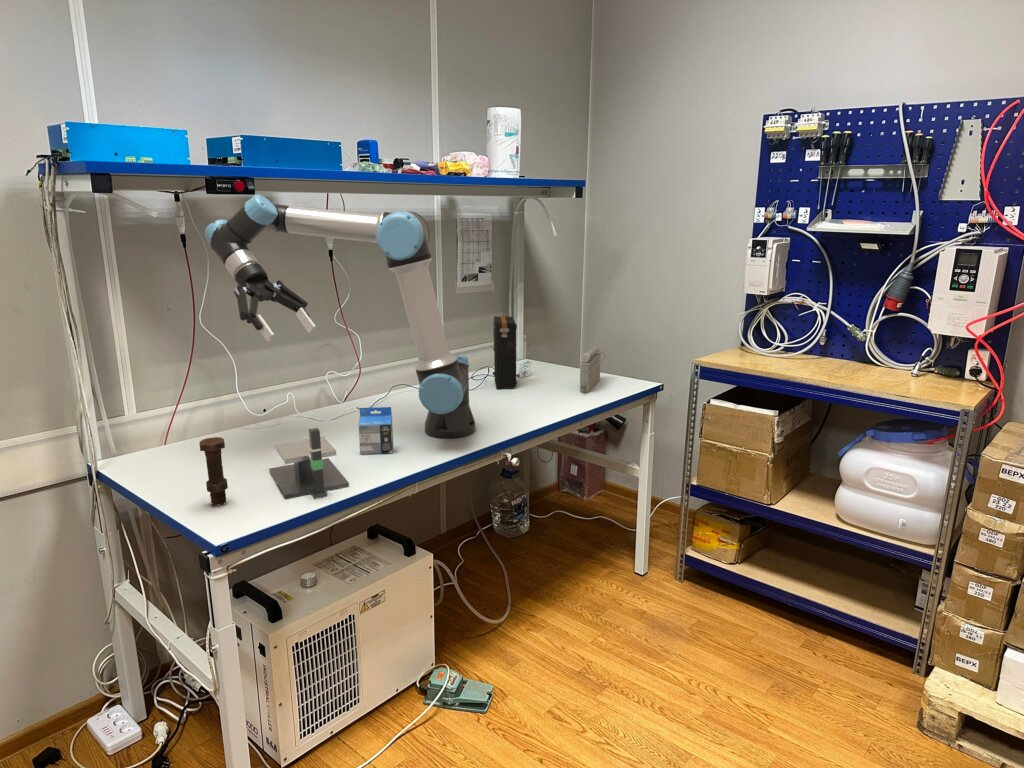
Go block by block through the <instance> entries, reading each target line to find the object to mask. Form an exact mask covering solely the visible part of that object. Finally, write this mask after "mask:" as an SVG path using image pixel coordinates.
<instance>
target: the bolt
mask: <svg viewBox="0 0 1024 768" xmlns="http://www.w3.org/2000/svg"><path fill="white" fill-rule="evenodd" d="M225 443H226V442H225V438H223V437H220V436H219V437H217V436H214V437H207V438H204V439H201V440H200V441H199V451H200V452H204V456H205V460H206V461H205V462H206V468H207V478H208V480H207V481H206V482H205V485H206V491H207V492H208V493H209V495H210V501H211V502H210V503H211V504H212V505H213V506H216V507H217V506H221V505H225V504H226V502H227V495H226V494H227V493H226V490H227V489H229V485H228V479H227V478H225V476H224V468H223V467H224V466H223V460H222V459H223V458H222V449H225V448H226V444H225Z"/></svg>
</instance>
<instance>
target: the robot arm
mask: <svg viewBox="0 0 1024 768" xmlns="http://www.w3.org/2000/svg"><path fill="white" fill-rule="evenodd" d="M204 230H205V231H204V238H205V239H206V241H207V242H208V245H209V246H210V248H211V250H212V251H213V252H214V254H215V255H216V256H217V257H218V258H219V259H220V261H221V262H222V264H223V265H224V267H225V268H226V270H227V271H228V272H229V273H230V275H231V277H232V278H233V279H234V280H235V281H234V282H236V284H237V286H236V287H235V290H234V292H233V293H234V295H235V297H236V299H237V306H238V314H239V319H240V320H241V321H245V320H246V323H247V324H249V325H250V324H251V325H253V327H254V329H256V330H257V331H259V332H260V334H261V335H262V337H263V338H264V339H265V341H266V342H267V343H269V342H271V340H272V339H273V337H274V336H275V333H274V332H273V331H272V329H271V328H270V327H269V325H268V324H267V322H266V321H265V319H264V318H263V316H262V315H261V314H257V312H258V308H259V307H258V306H259V302H262V303H263V302H264V301H266V302H269V301H271V302H273V303H278V304H279V305H282V306H284V307H286V308H287V309H289V310H291V311H293V312H295V316H296V318H297V319H298V320H299V322H300V323H301V324H302V326H303V327H304V328H305V330H306V331H307V332H308V334H311V333H312V332H313V331H314V329H315V328H316V326H317V325H316V324H315V323H314V322H313V321H312V319H311V316H310V314H309V313H308V312H307V310H306V307H308V304H309V303H308V302H307V301H306V300H304V298H302V297H300V296H299V295H298V294H296V293H295V292H294V291H293V290H291V289H290V288H288V287H287V286H286V285H285V284H284V283H283V282H282V281H281V280H279V279H278V280H277V281H276V282H274V283H273V282H271V281H270V280H269V277H268V273H267V272H266V271H265V270H264V268H263V267H262V265H261V264H260V263H259V261H258V260H257V258H256V257H255V256H254V254H253V253H252V251H251V250H250V249H249V247H248V245H249V246H250V244H251V243H252V242H253V241H254V240H255V239H256V238H257V237H258V236H259V235H261V234H262V233H269V232H270V233H271V232H272V233H273V232H274V233H283V234H294V235H301V236H303V235H304V236H312V237H322V238H329V239H337V240H338V239H339V240H348V241H355V242H358V241H359V242H363V243H365V242H366V243H372V244H373V243H374V244H375V243H376V244H377V245H378V247H379V250H380V251H381V252H382V253H383V254H384V257H385V260H386V261H385V262H386V264H387V269H388V270H389V271H390V272H392V273H394V274H395V275H396V278H397V283H398V288H399V291H400V295H401V297H402V301H403V305H404V309H405V313H406V317H407V320H408V324H409V327H410V332H411V336H412V340H413V343H414V347H415V351H416V354H417V357H418V363H417V364H416V366H415V369H414V370H415V373H416V377H417V381H418V384H419V386H418V399H419V402H420V403H421V404H422V406H423V407H424V408H425V409H426V410H428V412H427V415H426V419H425V421H424V432H425V434H426V435H428V436H430V437H434V438H439V439H454V438H455V439H456V438H457V437H458V438H463V437H467V436H469V435H472V434H474V433H475V432H476V421H475V418H474V414H473V412H472V410H471V409H472V408H471V407H470V385H469V383H470V382H469V379H470V378H469V375H470V374H469V367H470V364H469V359H468V358H469V357H467V356H466V355H465V354H452V353H450V348H449V344H448V341H447V337H446V333H445V329H444V325H443V320H442V317H441V314H440V313H441V312H440V308H439V305H438V301H437V298H436V293H435V289H434V286H433V281H432V278H431V274H430V270H429V265H430V263H431V262H432V259H433V258H432V254H431V250H430V247H429V242H430V238H431V231H430V230H431V229H430V225H429V223H428V222H427V221H426V219H425V218H424V217H423V216H422V215H421V214H419V213H418V212H415V211H409V210H407V211H404V210H400V211H394V212H389V211H388V212H387V211H383V212H382V213H381V214H373V213H372V214H371V213H362V212H351V211H343V210H342V211H341V210H333V209H325V208H317V207H315V208H314V207H306V206H296V205H287V204H280V203H274V202H273V203H272V202H271V200H269V199H268V198H266V197H265V196H263V195H261V194H255V195H253V196H252V197H251V198H250V199H248V200H247V201H246V202H245V203H244V205H243V206H241V207H240V208H239V209H238V211H237V212H236V213H235V214H234V215H233V216H231V218H230V219H229V220H226V219H218V220H215V221H214V222H211V223H209V224H208V225H207V227H206V228H205V229H204ZM247 295H248V296H249V297H250V301H249V303H250V304H248V299H247Z"/></svg>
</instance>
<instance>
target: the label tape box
mask: <svg viewBox="0 0 1024 768" xmlns="http://www.w3.org/2000/svg"><path fill="white" fill-rule="evenodd" d="M375 411H377V413H371V412H375ZM379 412H380V413H379ZM392 413H393V412H392V407H391V406H378V407H373V406H372V407H371V406H370V407H369V406H368V407H359V418H358V419H359V421H358V435H359V436H358V441H359V454H360V455H376V454H377V455H381V454H393V452H394V432H393V428H394V427H393V415H392Z"/></svg>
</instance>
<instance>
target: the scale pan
mask: <svg viewBox="0 0 1024 768" xmlns="http://www.w3.org/2000/svg"><path fill="white" fill-rule="evenodd" d="M320 441H321V448H322V451H321V454H322V459H325V458H329V457H333V456H335V457H336V456H337V450H336V449H335V448H334V447H333V445H332V444H331V443H330V442H329V441H328V439H327V438H325V436H320ZM274 447H275V450H276V452H277V454H278V455H279V457H280V458H281V460H282V461H283V463H284V464H285V465H291V464H294V463H295V462H301V461H307V460H310V458H311V452H310V440H309V438H306V439H300V440H293V441H287V442H282V443H281V442H280V443H275V444H274Z"/></svg>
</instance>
